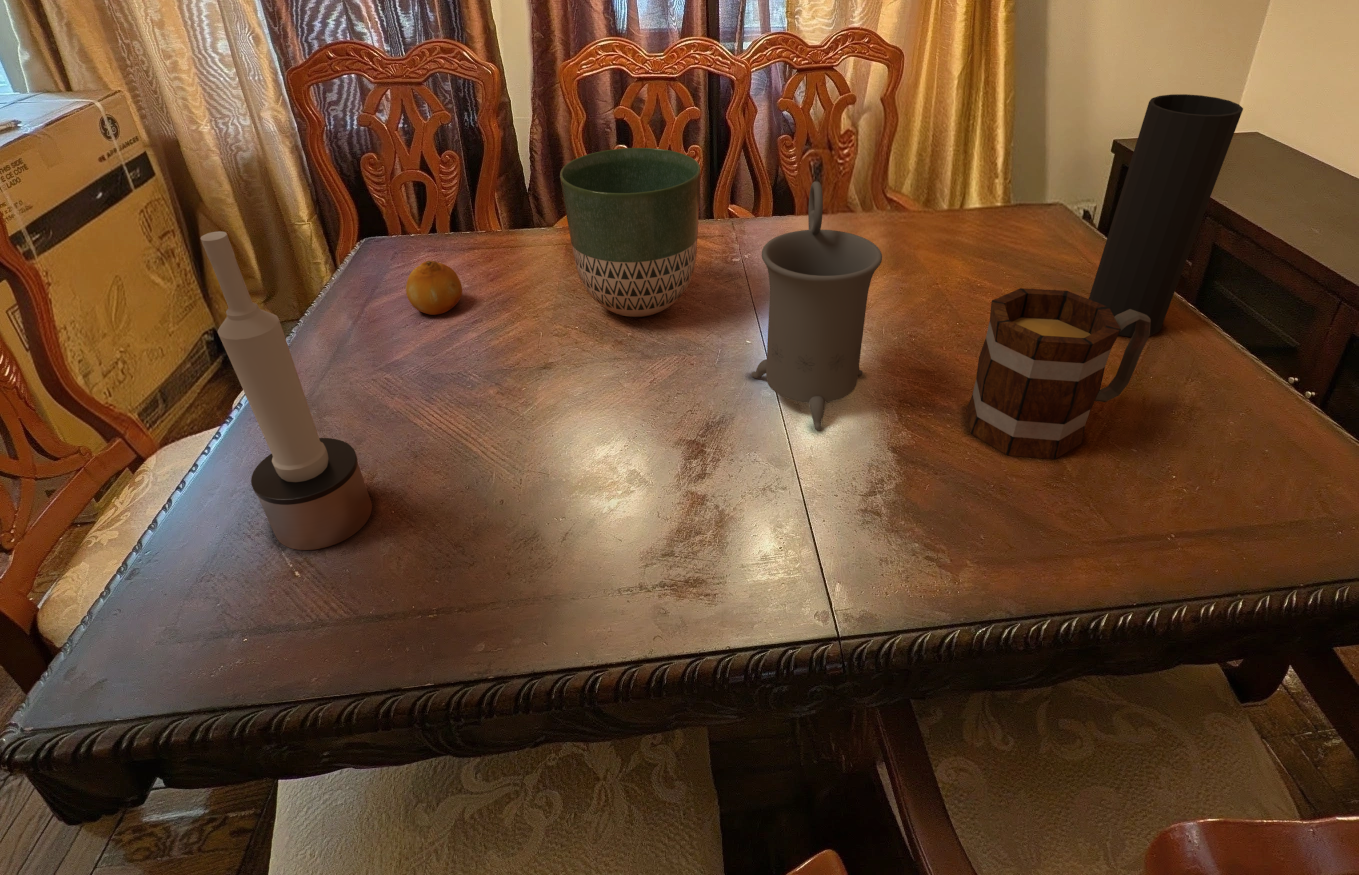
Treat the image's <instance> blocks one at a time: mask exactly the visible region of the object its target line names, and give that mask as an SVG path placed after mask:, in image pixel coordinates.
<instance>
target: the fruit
mask: <svg viewBox="0 0 1359 875" xmlns="http://www.w3.org/2000/svg"><path fill="white" fill-rule="evenodd" d="M405 286H406V287H405V293H406V297H407V300H408V302H409V304H411V306H412V307H413V308H414V309H416V311H419V312H421V313H423V314H426V315H435V316H437V315H442V314H444V313H447V312H448V311H450V310H451V309H453V308H454V307H455V306H456V305H457V304H458V303H459V301H460V300H461V298H462V295H463V285H462V283H461V280H460V278H459V276H458V274H457V272H456V271H455V270H454V269H452V267H450V266H448V265H447V264H445V263H442V262H438V261H435V260H426V261H423V262H421V264H420V265H418V266H417V267H415V268H413V270H412V271H411V272H410V273H409V275H408V278H407V280H406V285H405Z"/></svg>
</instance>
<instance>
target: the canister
mask: <svg viewBox="0 0 1359 875" xmlns="http://www.w3.org/2000/svg"><path fill="white" fill-rule="evenodd" d="M319 439H320V442H322V443H323V444H324V446H325V447H326V450H327V453H328V465H327V468H326V469H325V470H324V471H323V472H322V473H321V474H319V475H318V476H316V477H315V478H312V479H309V480H307V481H302V482H287V481H285V480H284V479H282V478H281V477H280V476H279V475H278V474H277V472H276V470H275V468H274V465H273V463H272V458H273V455H272V453H270V454H269V455H267V456H266V457H264V458H263V459H262V460H261V461H260V462H259V463H258V464H257V466H256V467H255V468H254V470H253V472H252V475H251V479H250V484H251V487H252V490H253V492H254V494H255V495H256V496H257V498H258V500H259V502H260V506H261V508H262V509H263V512H264V514H265V516H266V519H267V520H268V523H269V525H270V527H271V530H272V531H273V534H274V536H275V539H276V540H277V541H278V542H279V543H280V544H281V545H283V546H284V547H287V548H289V549H292V550H298V551H314V550H321V549H324V548H328V547H331V546H334V545H337V544H340V543H341V542H343V541H346V540H348V539H350V538H351V537H352V536H353V535H355V534H356V533H358V532H359V531H360V530H361V529H362V528H363V527H364V526H365V525H366V524H367V522H368V521H369V519H370V516H371V514H372V511H373V504H372V501H371V498H370V495H369V492H368V490H367V486H366V483H365V479H364V477H363V473H362V471H361V468H360V465H359V461H358V460H359V459H358V456H357V453H356V451H355V449H354V448H353V446H352V445H351V444H349V443H348V442H346V441H344V440H341V439H337V438H331V437H319Z"/></svg>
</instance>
